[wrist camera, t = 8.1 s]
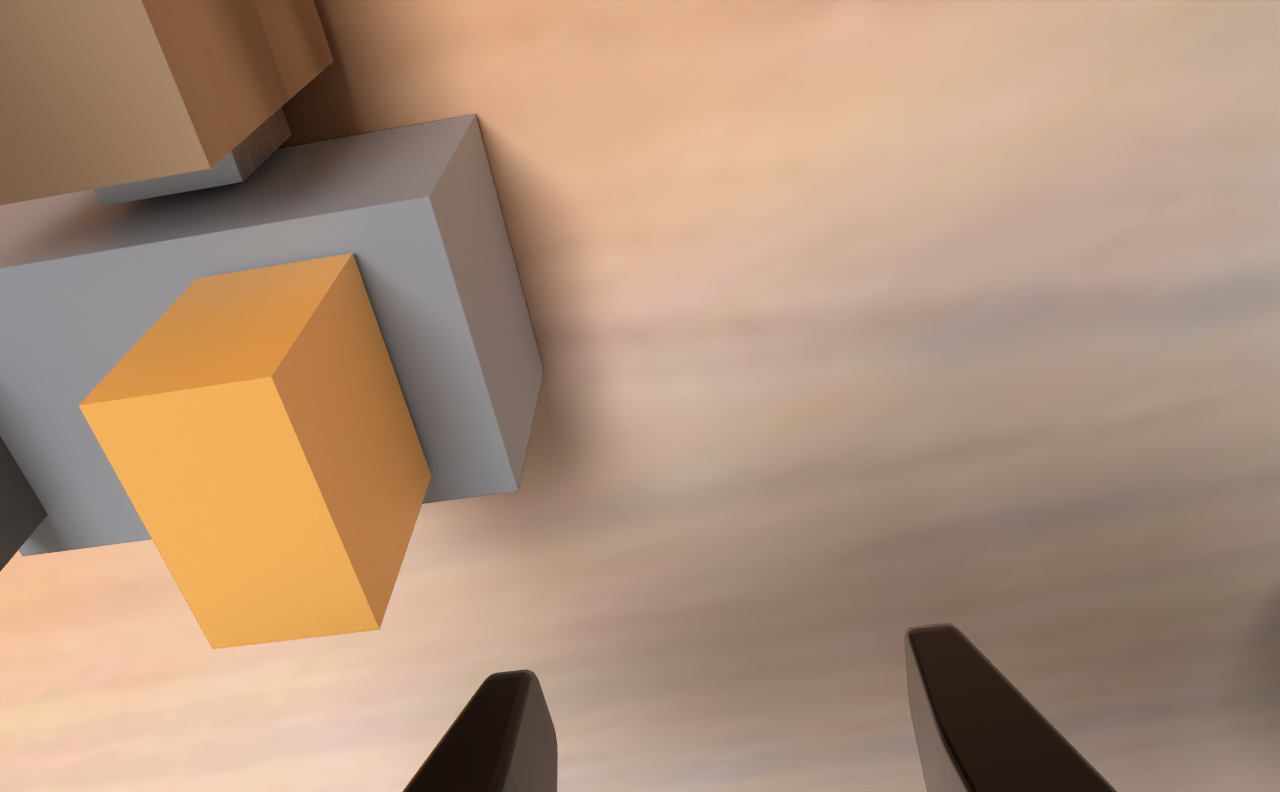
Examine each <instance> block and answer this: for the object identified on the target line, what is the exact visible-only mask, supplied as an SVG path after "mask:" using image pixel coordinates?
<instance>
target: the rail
mask: <svg viewBox="0 0 1280 792" xmlns="http://www.w3.org/2000/svg"><path fill="white" fill-rule="evenodd" d="M291 135H292V134H291V131H290V128H289V125H288V123H287V120H286V117H285V114H284V112H283V109H282V107H281V108H280V109H278V110H277V111H276V112H275V113H274V114H273V115H272V116H270V117H269V118H268V119H267V120H266V121H265V122H264V123H262V124H261V125H260V126H259V127H258V128H257V129H255V130H254V131H253V132H252V133H251V134H250V135H249V136H247V137H246V138H245V139H244V140H243V141H242V142H241V143H239V144H238V145H237V146H236V147H235V148H234V149H233V150H231V151H230V152H229V153H228V154H227V155H226V156H225V157H223V158H222V159H221V160H220V161H219V162H218V163H217V164H215V165H214V166H213V167H212V168H211V169H205V170H199V171H193V172H188V173H182V174H176V175H171V176H165V177H159V178H154V179H148V180H142V181H137V182H131V183H125V184H119V185H114V186H108V187H102V188H97V189H93V190H94V192H95V194H96V196H97V199H98V201H99V203H100V205H101V206H106V205H112V204H118V203H124V202H130V201H135V200H141V199H147V198H153V197H158V196H164V195H170V194H176V193H181V192H187V191H193V190H199V189H205V188H210V187H216V186H222V185H228V184H233V183H239V182H244V181H245V180H246V179H247V178H248V177H249V176H250V175H251V174H252V173H253V172H254V171H255V170H256V169H257V168H258V167H259V166H260V165H261V164H262V163H263V162H264V161H265V160H266V159H267V158H268V157H269V156H270V155H271V154H272V153H273V152H274V151H275V150H277V149H278V148H279V147H280V146H281V145H282V144H283V143H284V142H285V141H286V140H287V139H288V138H289V137H290V136H291Z"/></svg>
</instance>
